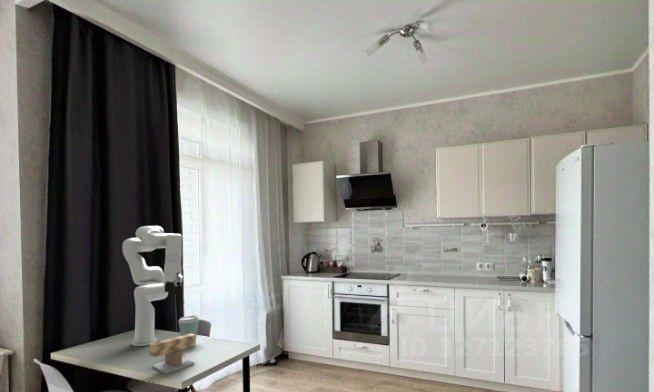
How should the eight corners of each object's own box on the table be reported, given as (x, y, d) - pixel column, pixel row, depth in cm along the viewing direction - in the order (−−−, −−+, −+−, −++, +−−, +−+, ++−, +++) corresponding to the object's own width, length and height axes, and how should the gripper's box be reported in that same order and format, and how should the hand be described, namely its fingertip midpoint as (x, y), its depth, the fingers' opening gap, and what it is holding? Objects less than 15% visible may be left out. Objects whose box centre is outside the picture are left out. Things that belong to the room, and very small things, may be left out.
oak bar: (153, 357, 167) (154, 345, 167) (149, 355, 169) (149, 343, 170) (195, 345, 182) (195, 334, 182) (191, 343, 184) (191, 333, 185)
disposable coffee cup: (177, 349, 197) (178, 320, 198) (177, 343, 207) (178, 315, 208) (199, 347, 201) (199, 318, 202) (198, 341, 211) (198, 313, 212)
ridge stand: (151, 367, 174) (152, 351, 174) (180, 358, 184) (181, 343, 185) (164, 373, 166) (165, 357, 166) (194, 364, 176) (194, 349, 177)
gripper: (158, 258, 196) (157, 292, 195) (174, 260, 185) (174, 296, 184) (172, 257, 202) (171, 290, 201) (189, 258, 191) (188, 293, 189)
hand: (172, 292), depth 192 cm, fingers open, 9 cm apart
